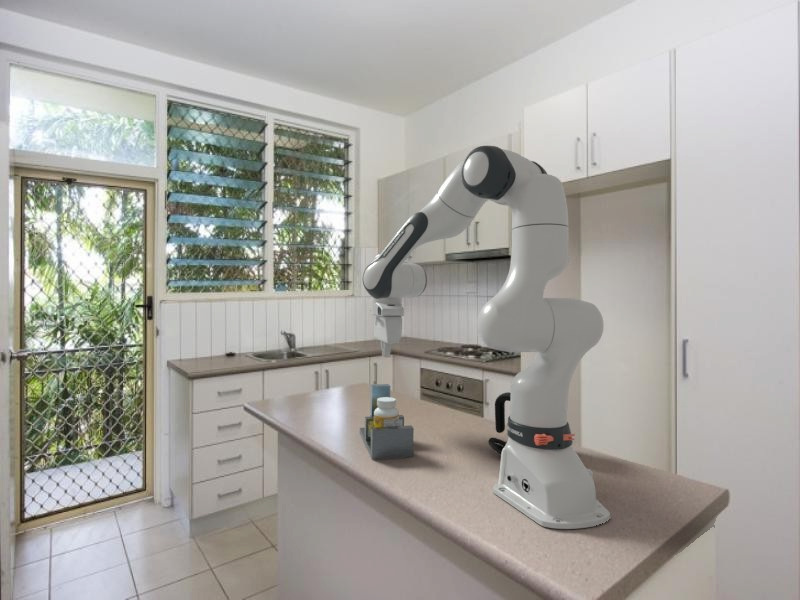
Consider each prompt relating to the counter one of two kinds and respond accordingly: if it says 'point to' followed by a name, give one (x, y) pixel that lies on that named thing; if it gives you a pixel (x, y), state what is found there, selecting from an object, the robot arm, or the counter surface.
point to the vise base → (389, 442)
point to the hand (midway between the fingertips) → (386, 356)
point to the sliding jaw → (376, 393)
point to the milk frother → (499, 421)
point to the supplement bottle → (386, 413)
